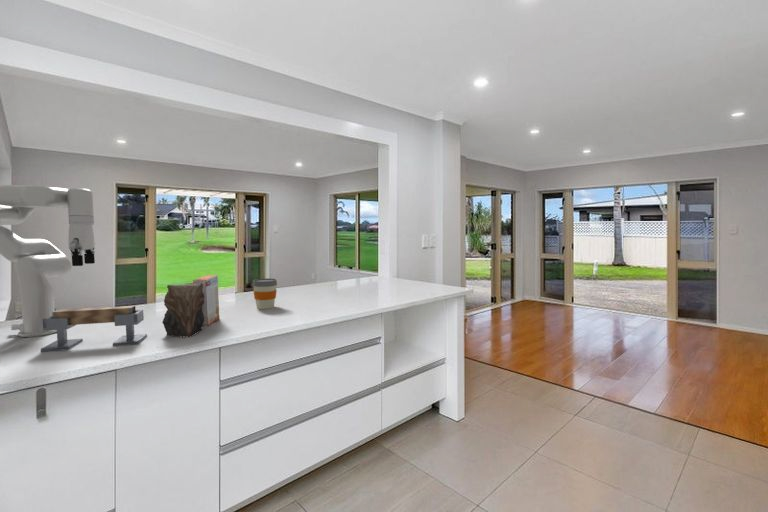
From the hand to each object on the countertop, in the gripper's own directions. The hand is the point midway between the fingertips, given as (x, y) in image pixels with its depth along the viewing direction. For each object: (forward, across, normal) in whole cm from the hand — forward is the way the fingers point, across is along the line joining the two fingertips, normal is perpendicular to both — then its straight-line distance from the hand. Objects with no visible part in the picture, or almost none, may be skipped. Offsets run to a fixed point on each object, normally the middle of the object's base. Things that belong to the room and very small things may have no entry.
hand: (83, 264), depth 142 cm
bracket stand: (+28, +13, +8) cm, 32 cm away
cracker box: (+28, -8, +42) cm, 51 cm away
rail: (+20, +13, +8) cm, 25 cm away
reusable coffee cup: (+28, -35, +67) cm, 81 cm away
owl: (+28, +8, +36) cm, 47 cm away
